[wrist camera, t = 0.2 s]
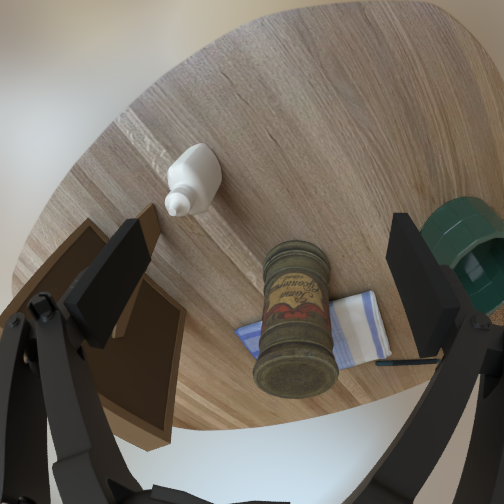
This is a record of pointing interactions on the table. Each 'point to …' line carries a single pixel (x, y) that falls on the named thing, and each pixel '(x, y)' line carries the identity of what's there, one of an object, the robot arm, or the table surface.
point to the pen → (406, 362)
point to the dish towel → (343, 331)
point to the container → (296, 324)
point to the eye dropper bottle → (193, 181)
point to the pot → (470, 248)
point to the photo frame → (122, 338)
